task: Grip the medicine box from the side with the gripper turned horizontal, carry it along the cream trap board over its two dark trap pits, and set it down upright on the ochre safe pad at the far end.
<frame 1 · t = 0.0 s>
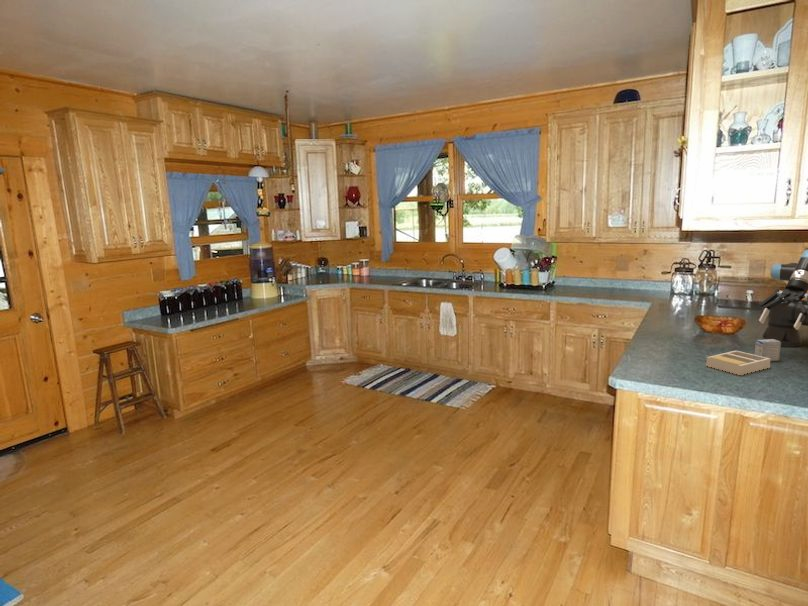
hand: (777, 325, 209), 15 cm above the counter, tool tilted 35°, fingers open, 13 cm apart
medicine box: (766, 360, 212), on the counter
trap board: (737, 367, 205), on the counter
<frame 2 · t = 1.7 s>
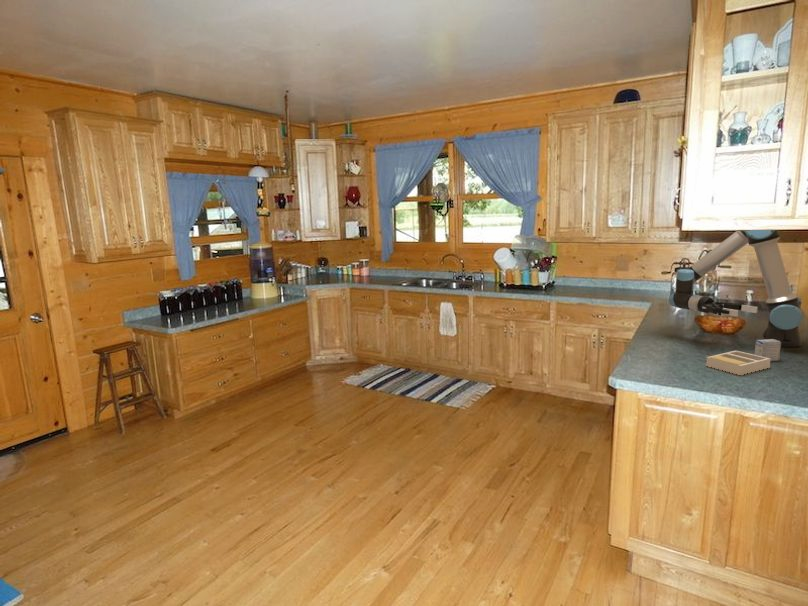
hand: (747, 311, 217), 20 cm above the counter, tool horizontal, fingers open, 13 cm apart
nothing on the counter moved.
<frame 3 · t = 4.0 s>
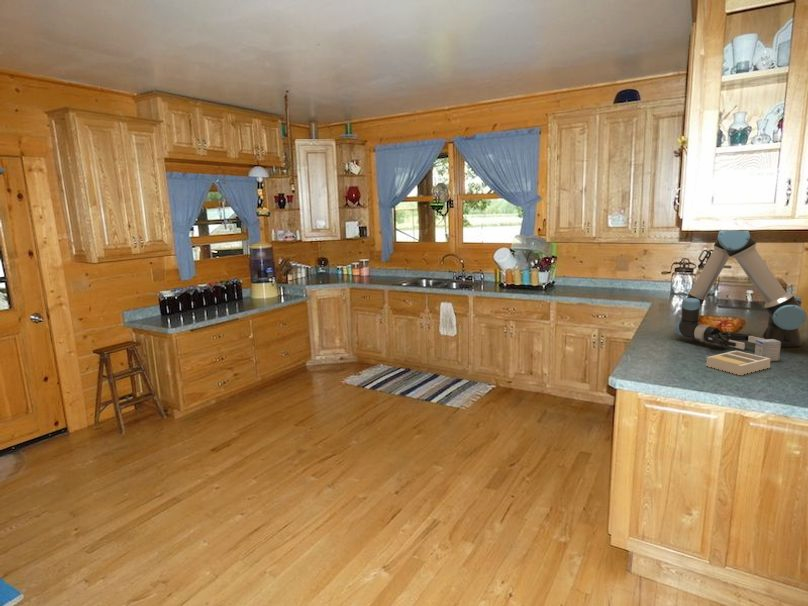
hand: (754, 344, 216), 6 cm above the counter, tool horizontal, fingers open, 13 cm apart
nothing on the counter moved.
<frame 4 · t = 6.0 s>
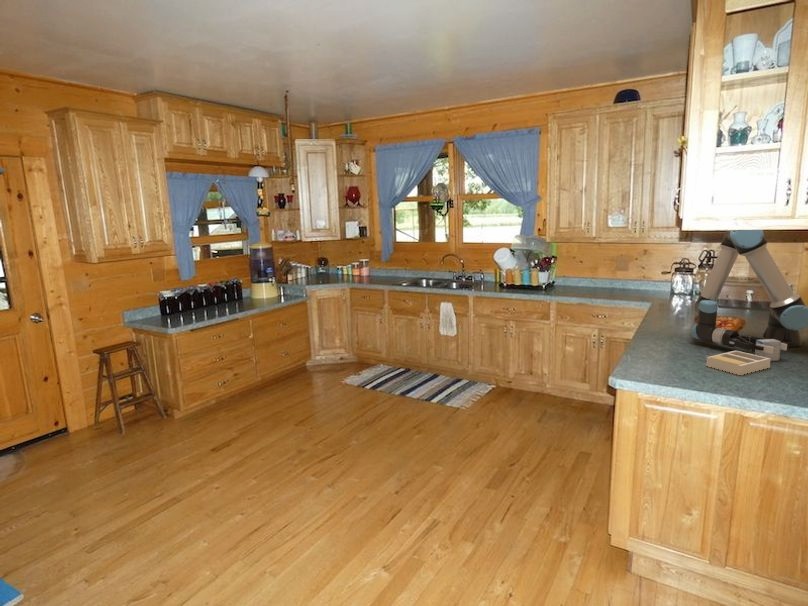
hand: (779, 348, 207), 6 cm above the counter, tool horizontal, fingers closed on medicine box, 9 cm apart
medicine box: (766, 360, 212), on the counter, touching gripper
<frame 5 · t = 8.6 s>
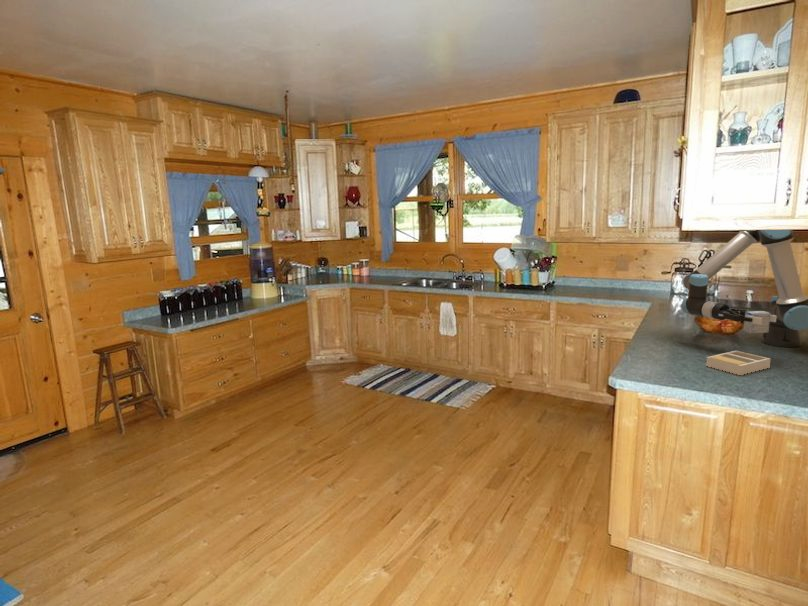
hand: (768, 320, 204), 19 cm above the counter, tool horizontal, fingers closed on medicine box, 9 cm apart
medicine box: (755, 332, 209), point 13 cm above the counter, touching gripper
when the fingers open (12 cm above the counter, at t = 11.4 s): medicine box drops 2 cm, resting on trap board.
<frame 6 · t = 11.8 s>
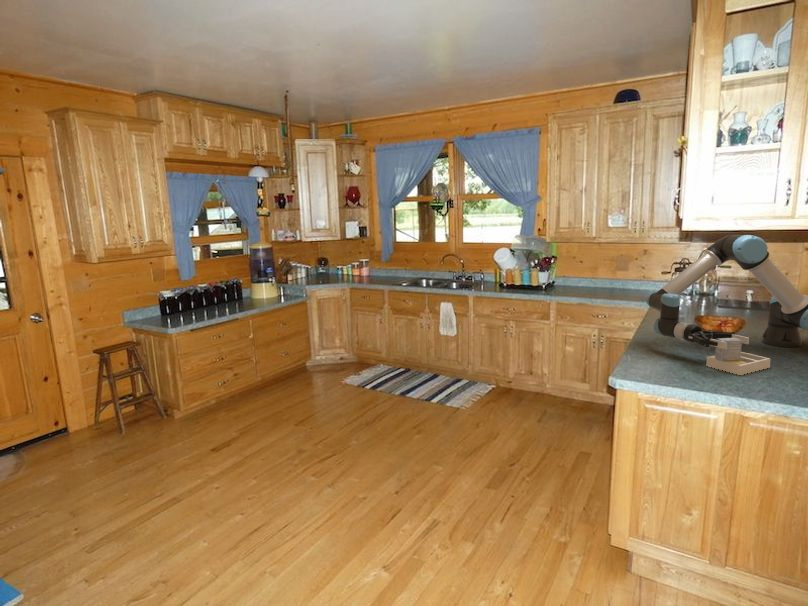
hand: (737, 343, 197), 12 cm above the counter, tool horizontal, fingers open, 13 cm apart
medicine box: (727, 360, 201), point 4 cm above the counter, touching trap board
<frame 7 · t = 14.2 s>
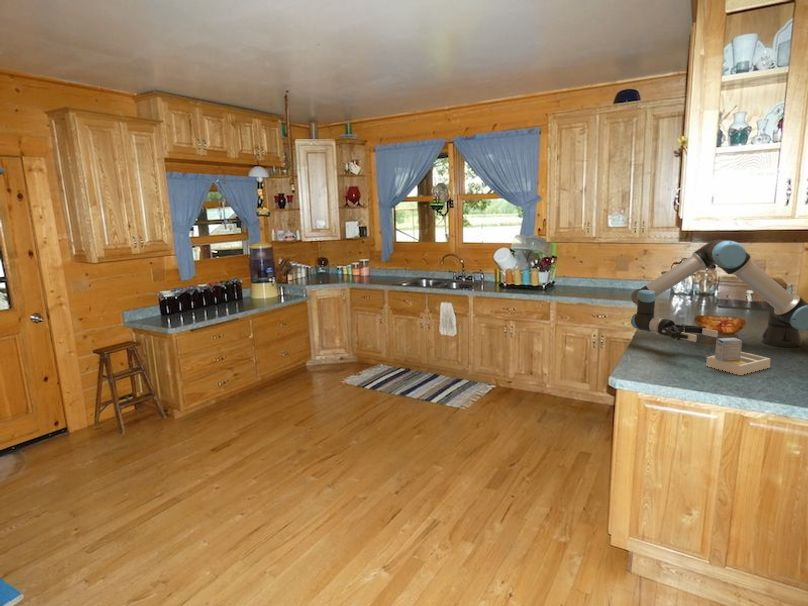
hand: (706, 336, 208), 12 cm above the counter, tool horizontal, fingers open, 13 cm apart
nothing on the counter moved.
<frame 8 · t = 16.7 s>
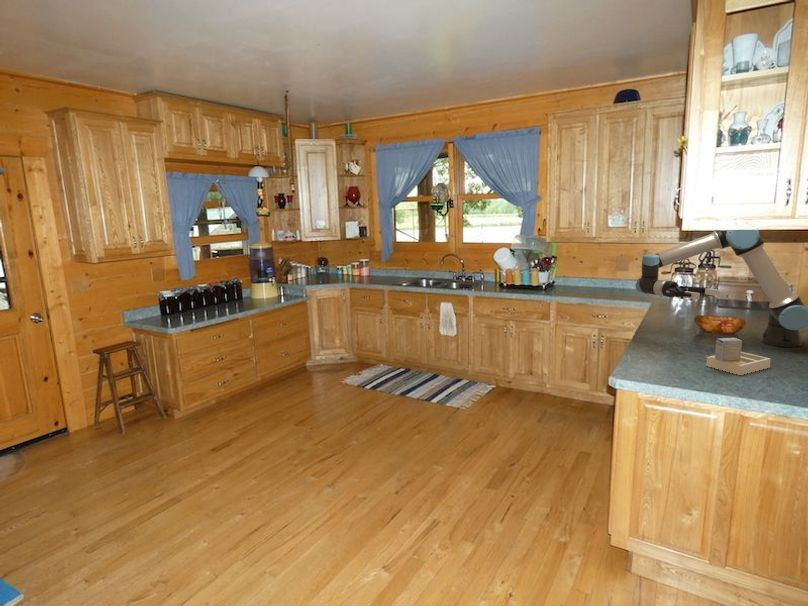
hand: (709, 294, 216), 28 cm above the counter, tool horizontal, fingers open, 13 cm apart
nothing on the counter moved.
at the end: medicine box inside the target area (0.2 cm from its centre), point 4.1 cm above the counter; medicine box tilted 0°; the gripper is holding nothing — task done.
